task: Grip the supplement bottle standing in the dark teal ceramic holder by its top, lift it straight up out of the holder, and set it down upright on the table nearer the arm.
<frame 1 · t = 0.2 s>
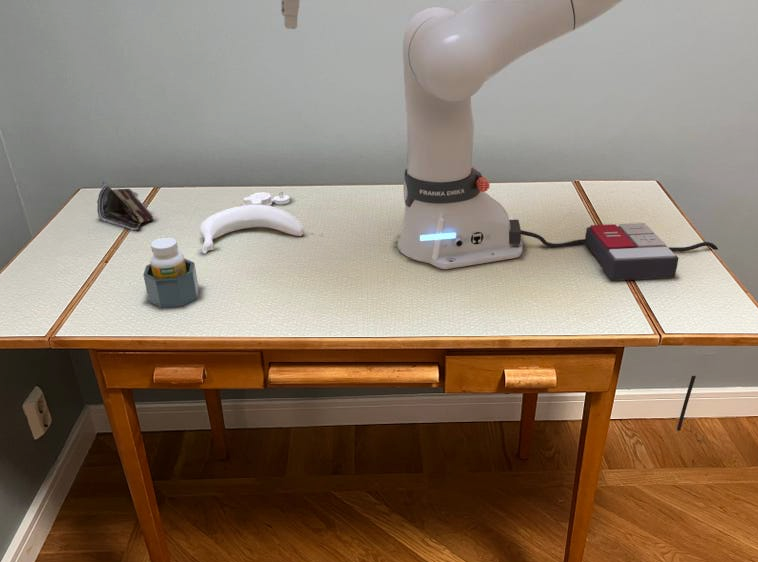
hand: (288, 21, 112), 39 cm above the table, tool pointing down, fingers open, 8 cm apart
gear: (263, 207, 153), on the table
supplement bottle: (174, 296, 123), resting in holder
banana: (251, 239, 140), on the table
control box: (627, 260, 130), on the table
chocolate cake: (133, 219, 149), on the table
holder: (174, 295, 123), on the table
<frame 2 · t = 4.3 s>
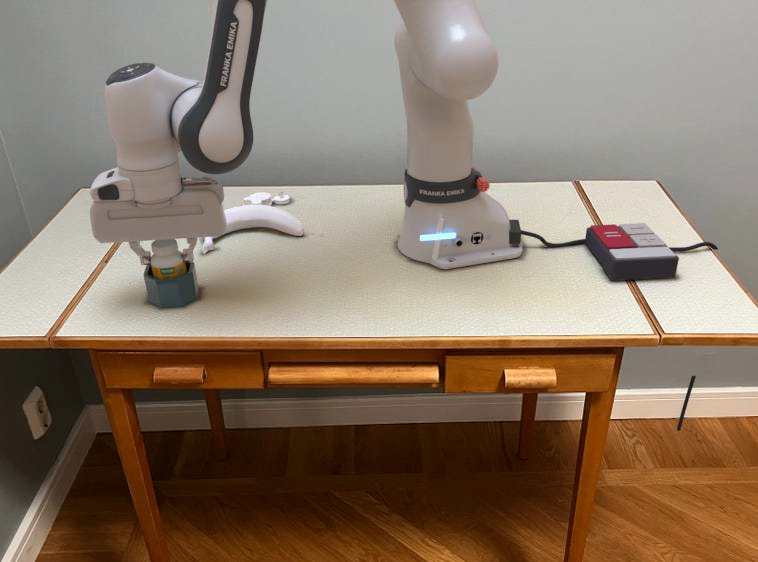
hand: (167, 262, 120), 6 cm above the table, tool pointing down, fingers closed on supplement bottle, 5 cm apart
supplement bottle: (174, 296, 123), resting in holder, touching gripper
everything else where it was.
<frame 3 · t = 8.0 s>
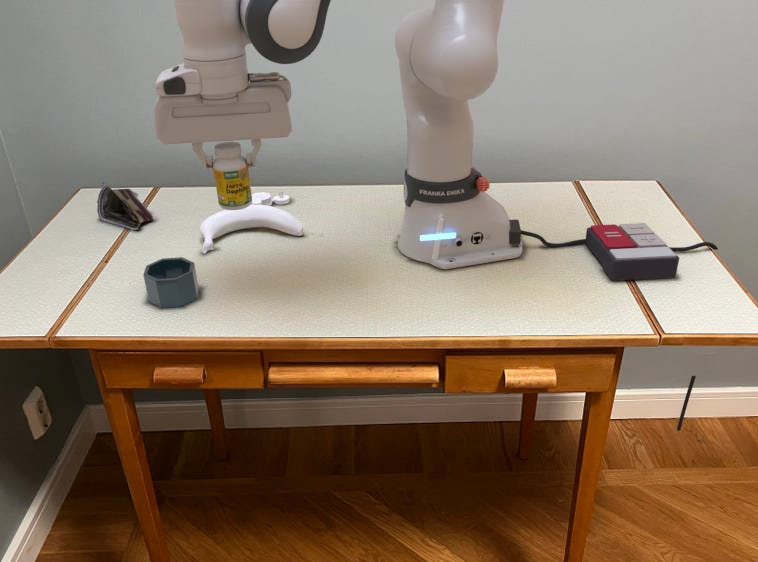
hand: (230, 167, 116), 20 cm above the table, tool pointing down, fingers closed on supplement bottle, 5 cm apart
supplement bottle: (235, 205, 119), point 13 cm above the table, touching gripper
everything else where it was.
when the fingers open (6 cm above the table, at t = 11.6 s): supplement bottle stays where it is, on the table.
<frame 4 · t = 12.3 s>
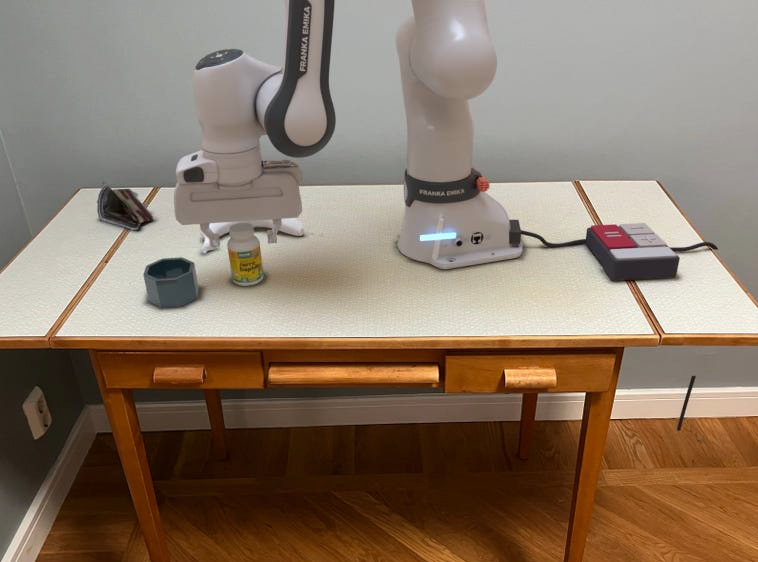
hand: (244, 243, 123), 7 cm above the table, tool pointing down, fingers open, 8 cm apart
supplement bottle: (248, 280, 127), on the table
everything else where it was.
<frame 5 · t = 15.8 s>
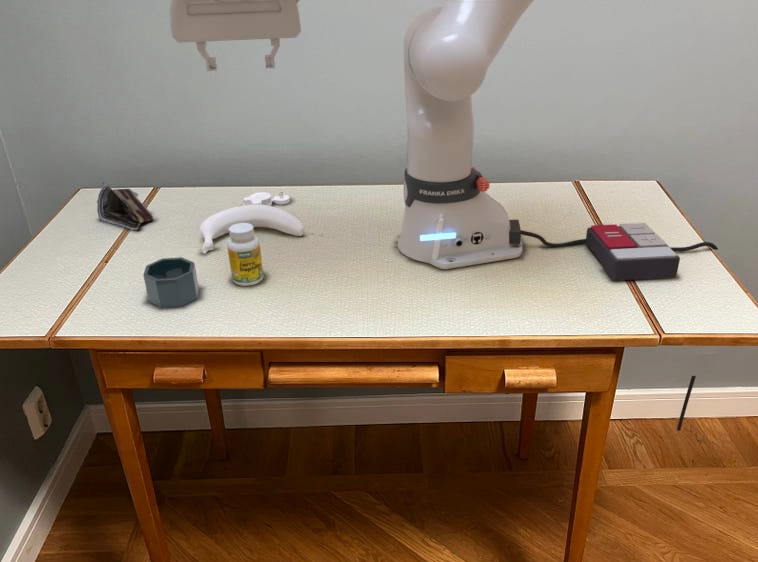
hand: (241, 68, 121), 31 cm above the table, tool pointing down, fingers open, 8 cm apart
nothing on the table moved.
at the end: supplement bottle inside the target area (0.0 cm from its centre), on the table; supplement bottle tilted 0°; the gripper is holding nothing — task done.
